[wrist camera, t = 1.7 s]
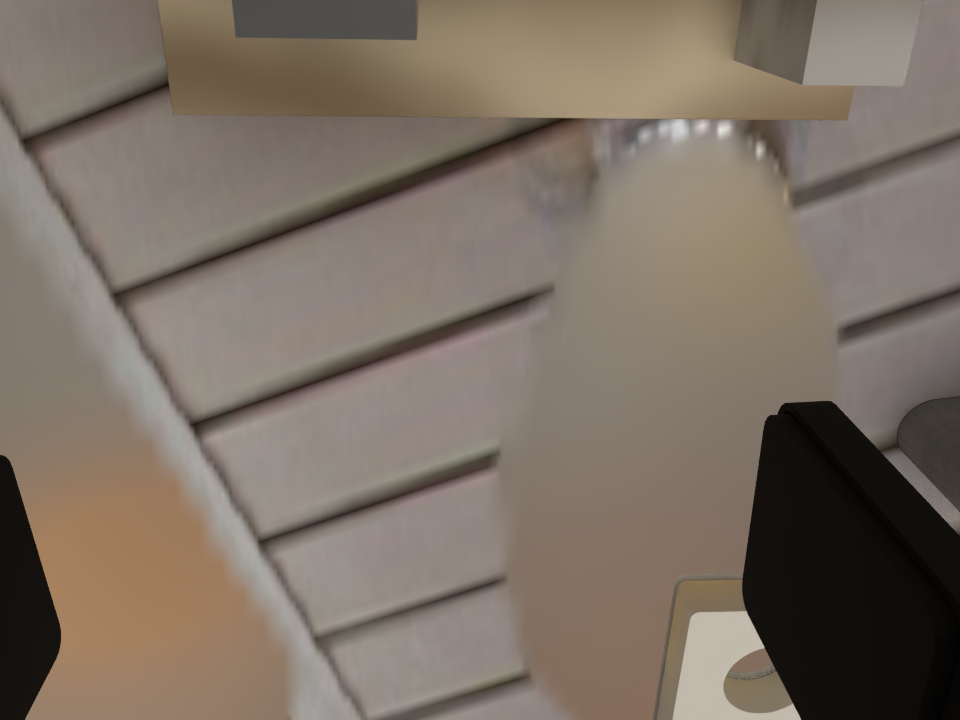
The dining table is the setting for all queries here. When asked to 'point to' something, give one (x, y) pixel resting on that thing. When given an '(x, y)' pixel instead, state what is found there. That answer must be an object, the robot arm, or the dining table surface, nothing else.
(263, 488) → the dining table surface
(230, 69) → the track board
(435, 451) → the dining table surface
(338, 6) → the block
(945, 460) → the hip flask
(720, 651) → the holder
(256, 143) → the dining table surface
